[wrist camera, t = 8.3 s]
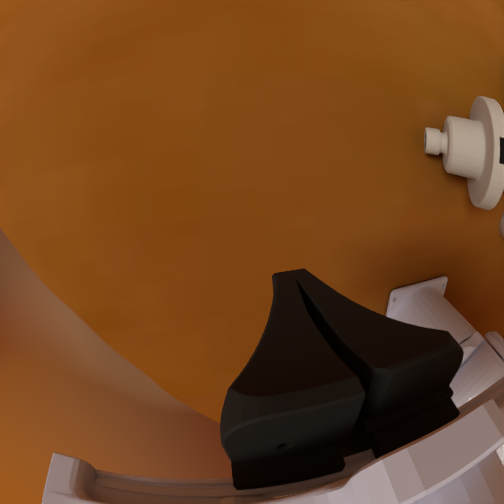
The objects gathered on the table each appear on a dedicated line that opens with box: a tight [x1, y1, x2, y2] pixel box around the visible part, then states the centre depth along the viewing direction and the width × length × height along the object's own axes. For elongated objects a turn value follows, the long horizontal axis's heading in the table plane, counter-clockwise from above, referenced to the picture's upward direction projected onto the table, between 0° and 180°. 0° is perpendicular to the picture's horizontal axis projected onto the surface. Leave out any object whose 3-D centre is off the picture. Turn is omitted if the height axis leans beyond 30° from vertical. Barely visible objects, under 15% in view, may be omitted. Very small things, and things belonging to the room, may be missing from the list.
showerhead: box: [425, 96, 504, 210], centre depth 16 cm, size 9×7×10 cm
